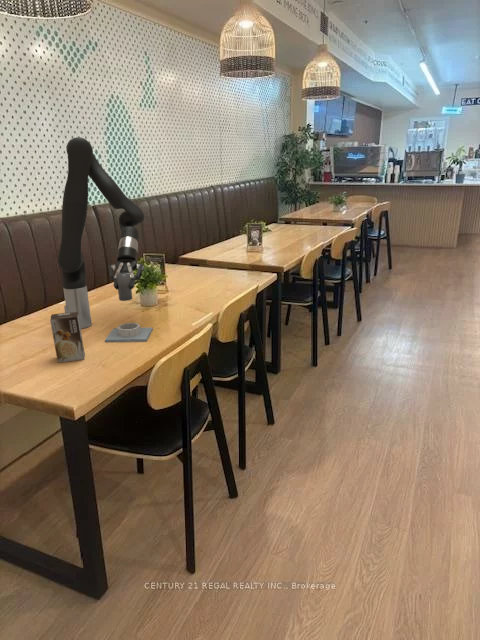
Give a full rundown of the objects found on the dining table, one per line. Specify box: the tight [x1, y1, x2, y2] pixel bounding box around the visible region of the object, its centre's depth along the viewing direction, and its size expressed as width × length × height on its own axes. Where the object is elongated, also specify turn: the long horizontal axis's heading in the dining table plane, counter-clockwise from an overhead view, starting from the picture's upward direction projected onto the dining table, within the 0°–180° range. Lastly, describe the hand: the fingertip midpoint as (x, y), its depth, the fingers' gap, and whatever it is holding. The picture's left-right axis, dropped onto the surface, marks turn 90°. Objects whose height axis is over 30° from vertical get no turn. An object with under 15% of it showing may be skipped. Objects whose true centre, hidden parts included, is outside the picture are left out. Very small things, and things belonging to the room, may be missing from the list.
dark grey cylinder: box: [115, 272, 133, 302], centre depth 177 cm, size 5×5×10 cm
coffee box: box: [49, 312, 86, 364], centre depth 162 cm, size 9×6×16 cm
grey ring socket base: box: [104, 322, 154, 343], centre depth 183 cm, size 16×13×4 cm
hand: (123, 288), depth 176 cm, fingers closed on dark grey cylinder, 5 cm apart
